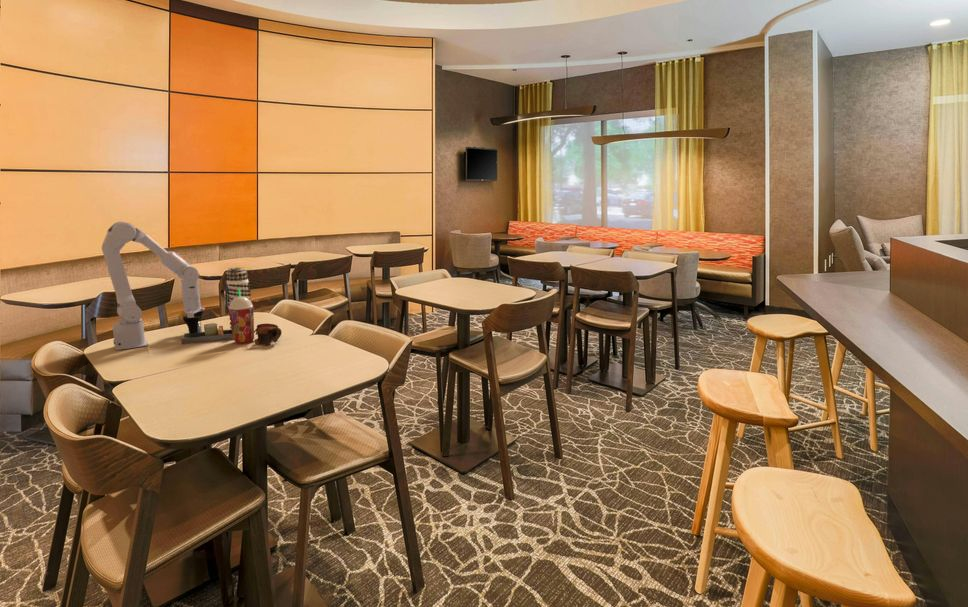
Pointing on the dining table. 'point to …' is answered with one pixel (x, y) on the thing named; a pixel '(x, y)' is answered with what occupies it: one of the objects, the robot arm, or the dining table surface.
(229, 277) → the black white checkered cylinder
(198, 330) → the jar
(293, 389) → the dining table surface
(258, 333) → the pottery mug
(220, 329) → the block
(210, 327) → the jar
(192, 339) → the lane
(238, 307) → the smoothie
